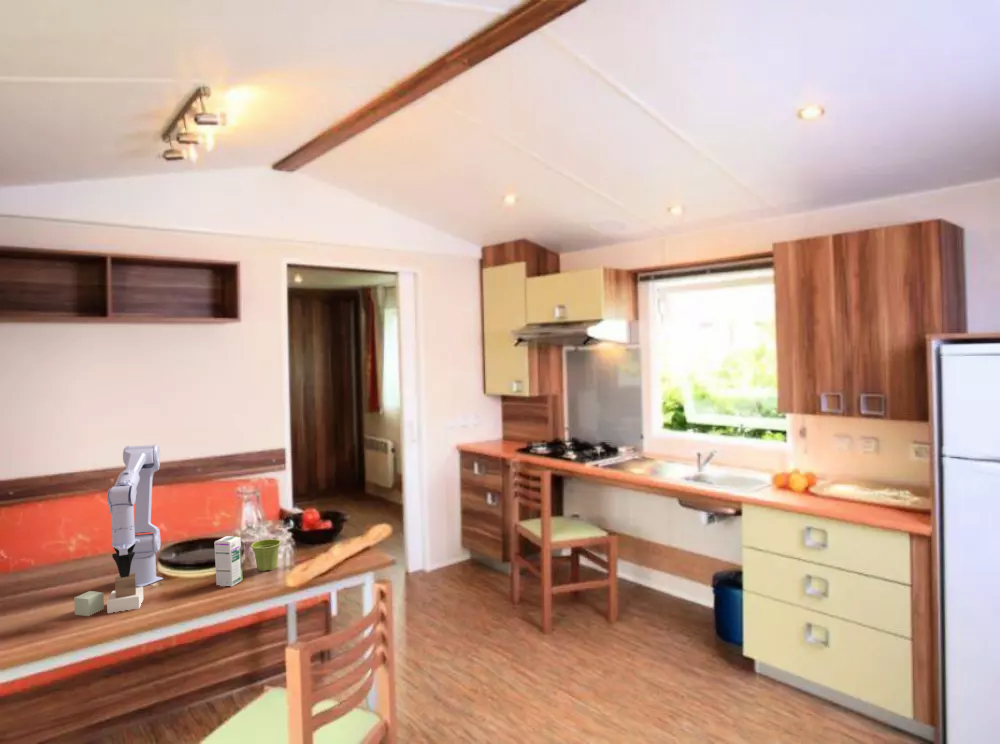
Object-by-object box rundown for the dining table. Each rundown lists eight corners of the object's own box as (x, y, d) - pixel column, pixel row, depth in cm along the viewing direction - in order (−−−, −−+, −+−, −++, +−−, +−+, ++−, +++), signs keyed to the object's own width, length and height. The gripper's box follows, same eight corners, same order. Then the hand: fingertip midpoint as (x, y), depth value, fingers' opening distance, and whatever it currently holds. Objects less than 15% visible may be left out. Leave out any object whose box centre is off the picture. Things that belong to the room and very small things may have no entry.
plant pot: (268, 574, 213) (267, 548, 213) (246, 571, 216) (245, 546, 216) (287, 565, 222) (286, 540, 221) (265, 562, 225) (264, 538, 225)
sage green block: (74, 614, 184) (74, 597, 183) (90, 607, 188) (89, 591, 188) (89, 616, 182) (88, 599, 182) (104, 609, 187) (103, 592, 187)
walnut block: (116, 592, 190) (115, 575, 190) (135, 589, 192) (135, 572, 192) (115, 598, 186) (115, 581, 185) (135, 594, 188) (134, 577, 188)
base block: (113, 604, 191) (112, 590, 191) (143, 599, 194) (143, 586, 194) (107, 614, 184) (106, 600, 184) (139, 610, 187) (138, 596, 187)
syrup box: (232, 587, 202) (230, 541, 202) (215, 586, 204) (213, 540, 203) (243, 580, 208) (241, 536, 207) (226, 579, 209) (225, 535, 209)
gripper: (138, 530, 184) (140, 577, 184) (139, 519, 196) (140, 562, 197) (109, 534, 180) (111, 582, 181) (112, 522, 193) (113, 567, 194)
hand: (125, 572), depth 189 cm, fingers open, 7 cm apart
